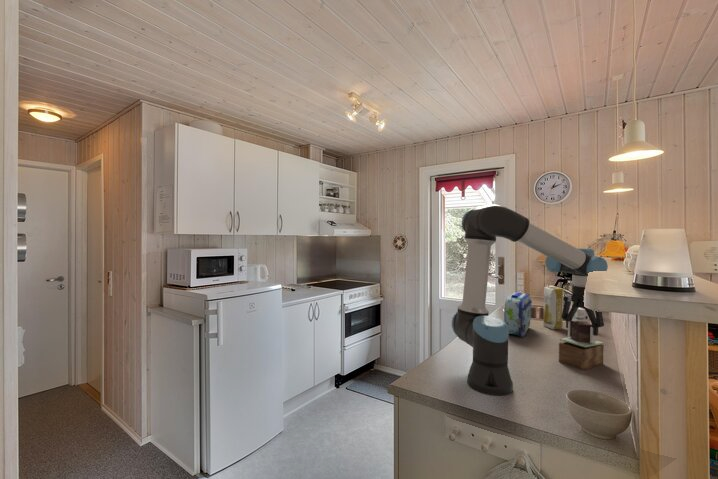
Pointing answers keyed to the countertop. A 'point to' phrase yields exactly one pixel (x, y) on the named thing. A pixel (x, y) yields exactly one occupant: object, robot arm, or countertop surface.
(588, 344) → the lid
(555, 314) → the juice carton
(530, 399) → the countertop surface
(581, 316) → the ink box
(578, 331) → the box
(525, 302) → the lunch box
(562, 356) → the crate
